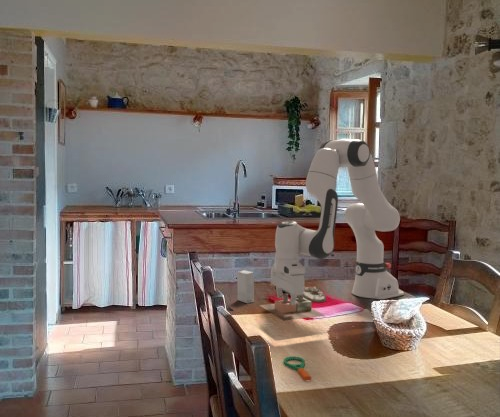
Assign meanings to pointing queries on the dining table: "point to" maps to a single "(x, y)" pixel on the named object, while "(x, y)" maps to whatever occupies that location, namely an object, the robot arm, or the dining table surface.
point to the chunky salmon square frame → (284, 306)
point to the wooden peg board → (301, 311)
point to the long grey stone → (312, 294)
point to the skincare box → (245, 286)
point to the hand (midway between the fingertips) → (286, 301)
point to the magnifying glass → (298, 366)
